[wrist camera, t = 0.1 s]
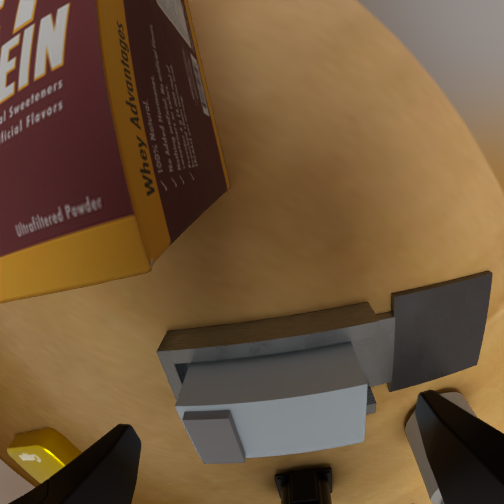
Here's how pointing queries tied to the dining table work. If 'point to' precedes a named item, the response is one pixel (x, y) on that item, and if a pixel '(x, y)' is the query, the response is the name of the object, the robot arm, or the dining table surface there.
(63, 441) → the element tile
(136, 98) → the supplement box
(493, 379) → the dining table surface
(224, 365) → the grey stepped machine block
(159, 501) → the dining table surface
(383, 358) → the base
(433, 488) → the can
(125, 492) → the robot arm
